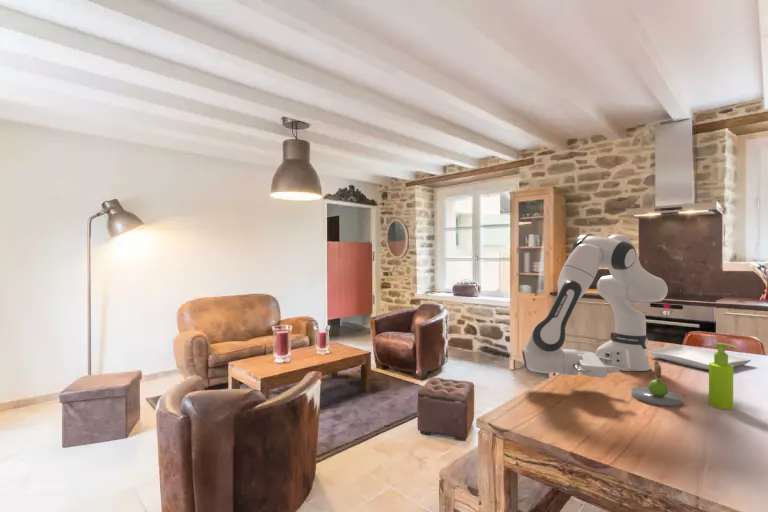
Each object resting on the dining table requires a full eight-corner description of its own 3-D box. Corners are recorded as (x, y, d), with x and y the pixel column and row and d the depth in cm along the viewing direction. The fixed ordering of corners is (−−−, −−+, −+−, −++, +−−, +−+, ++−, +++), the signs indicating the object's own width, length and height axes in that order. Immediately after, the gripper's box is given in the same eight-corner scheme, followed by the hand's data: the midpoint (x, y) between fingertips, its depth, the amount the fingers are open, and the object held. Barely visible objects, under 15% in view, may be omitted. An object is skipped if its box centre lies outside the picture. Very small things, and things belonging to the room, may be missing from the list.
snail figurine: (665, 393, 131) (665, 358, 131) (669, 400, 125) (669, 362, 125) (646, 391, 133) (646, 356, 133) (649, 397, 128) (649, 360, 127)
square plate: (715, 375, 156) (715, 365, 156) (646, 358, 181) (646, 350, 181) (752, 367, 167) (752, 358, 167) (681, 352, 192) (682, 344, 192)
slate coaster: (625, 398, 131) (625, 393, 131) (638, 388, 141) (638, 384, 141) (677, 410, 121) (677, 405, 121) (686, 398, 130) (686, 394, 130)
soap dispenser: (732, 412, 120) (732, 346, 119) (705, 404, 126) (705, 342, 125) (740, 408, 122) (741, 344, 122) (714, 401, 128) (714, 340, 128)
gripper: (576, 361, 128) (624, 364, 124) (566, 346, 148) (608, 349, 144) (576, 380, 129) (624, 384, 124) (566, 363, 148) (608, 366, 144)
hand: (615, 365), depth 134 cm, fingers open, 8 cm apart
